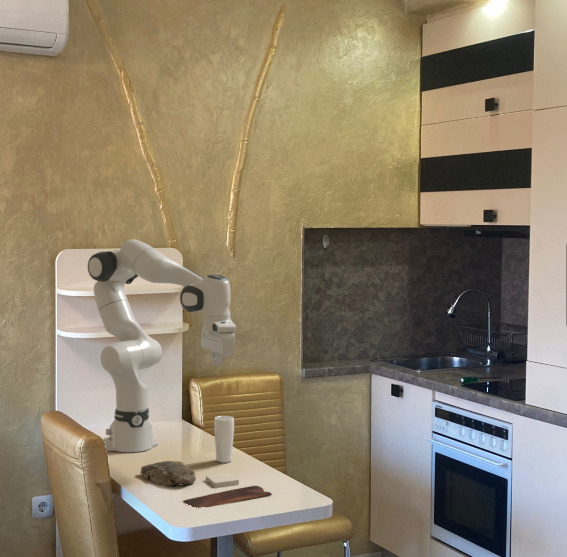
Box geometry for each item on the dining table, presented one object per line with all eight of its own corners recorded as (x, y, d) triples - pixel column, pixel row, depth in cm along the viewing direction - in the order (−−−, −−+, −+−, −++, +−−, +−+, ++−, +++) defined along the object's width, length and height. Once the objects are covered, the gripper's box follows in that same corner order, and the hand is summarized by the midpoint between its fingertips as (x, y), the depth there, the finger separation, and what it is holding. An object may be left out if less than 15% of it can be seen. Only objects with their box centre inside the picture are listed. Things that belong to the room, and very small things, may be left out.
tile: (205, 475, 276) (214, 482, 269) (229, 472, 280) (238, 479, 273) (205, 481, 276) (214, 488, 269) (229, 478, 280) (238, 485, 273)
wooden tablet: (194, 506, 248) (179, 493, 257) (193, 514, 249) (179, 500, 257) (274, 493, 262) (258, 480, 271) (273, 500, 263) (257, 487, 271)
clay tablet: (205, 485, 272) (178, 468, 289) (205, 470, 272) (177, 454, 289) (164, 493, 265) (138, 475, 282) (164, 478, 265) (138, 461, 281)
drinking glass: (212, 459, 301) (212, 416, 300) (231, 457, 303) (231, 415, 302) (216, 464, 294) (216, 420, 293) (236, 463, 296) (236, 419, 295)
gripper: (196, 321, 296) (196, 361, 297) (220, 328, 278) (220, 371, 279) (213, 320, 299) (213, 360, 300) (238, 327, 281) (238, 369, 282)
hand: (216, 365), depth 289 cm, fingers closed
